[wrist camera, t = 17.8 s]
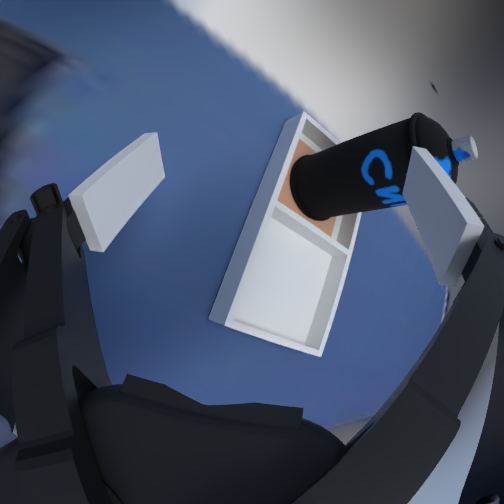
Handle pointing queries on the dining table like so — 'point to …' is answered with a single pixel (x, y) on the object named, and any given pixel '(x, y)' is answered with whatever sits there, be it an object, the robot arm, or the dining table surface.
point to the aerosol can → (372, 168)
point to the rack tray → (287, 255)
